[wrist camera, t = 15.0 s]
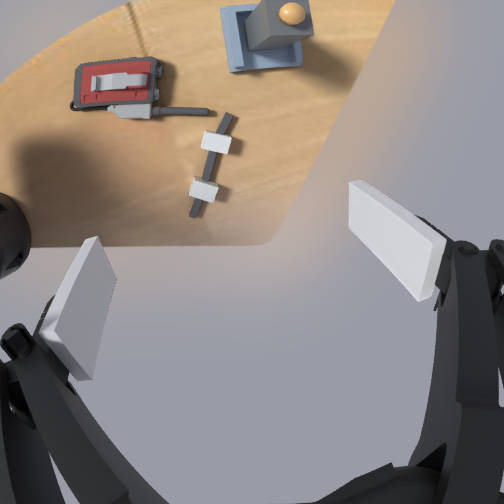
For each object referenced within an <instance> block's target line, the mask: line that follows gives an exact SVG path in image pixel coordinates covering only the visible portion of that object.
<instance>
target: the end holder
mask: <svg viewBox="0 0 504 504" xmlns="http://www.w3.org/2000/svg"><path fill="white" fill-rule="evenodd" d="M257 5H258V4H246V5H234V6H226V8H220V15H221V21H222V27H223V33H224V39H225V46H226V52H227V58H228V64H229V71H230V72H238V71H245V70H254V69H264V68H275V67H290V66H302V64H301V62H302V61H303V54H302V47H301V40H300V41H298V42H295V43H293V44H291V45H288V46H286V47H284V48H282V49H272V50H259V51H249V52H248V48H247V42H246V36H245V30H244V22H245V20H246V19H247V18H248V16H249V15H250V14H251V13H252V11H253V10H254V9H255V8H256V7H257Z"/></svg>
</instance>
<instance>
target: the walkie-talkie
mask: <svg viewBox="0 0 504 504" xmlns="http://www.w3.org/2000/svg"><path fill="white" fill-rule="evenodd" d="M158 65H159V61H158V60H157V59H156V58H154V57H144V58H137V57H132V58H127V59H121V60H120V59H118V60H110V61H108V60H106V61H102V62H101V61H99V62H91V63H84V64H80V65H79V66H78V67H77V68H76V70H75V80H74V97H73V101H72V102H71V104H70V109H71V110H73V111H80V110H89V109H103V110H107V112H113V113H115V114H116V115H117V116H119V117H120V118H122V119H130V118H144V119H150V118H151V116H153V115H160V114H177V115H208V114H209V112H210V111H209V109H207V108H189V107H160V106H152V103H153V102H154V101H156V100H159V89H156V85H157V77H158V79H161V78H162V76H163V64H160V65H159V66H158ZM73 105H75V106H76V107H77V108H74V107H73ZM105 105H110V106H109V107H108V108H107V107H105Z"/></svg>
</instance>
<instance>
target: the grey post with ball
mask: <svg viewBox="0 0 504 504" xmlns="http://www.w3.org/2000/svg"><path fill="white" fill-rule="evenodd" d="M244 30H245V36H246V42H247V48H248V52H249V51H259V50H272V49H282V48H284V47H286V46H288V45H291V44H293V43H295V42H298V41H300V40H303V39H305V38H308V37H310V36H313V35H314V30H313V24H312V18H311V12H310V7H309V1H308V0H262V1H261V2H260V3H259V4H258V5H257V7H256V8H255V9H254V10H253V11H252V13H251V14H250V15H249V16H248V18H247V19H246V20H245V22H244Z"/></svg>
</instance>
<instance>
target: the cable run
mask: <svg viewBox="0 0 504 504" xmlns="http://www.w3.org/2000/svg"><path fill="white" fill-rule="evenodd" d="M232 117H233V115H230V114H228V113H225V115H224V117H223V119H222V121H221V123H220V125H219V127H218V129H217V131H216V132H213V131H208V130H205V133H204V136H203V140H202V144H201V149H205V150H209V153H208V157H207V160H206V164H205V168H204V172H203V176H202V178H199V177H196V176H194V179H193V181H192V184H191V187H190V189H189V196H192V197H195V200H194V203H193V206H192V208H191V211H190V217H193V218H196V217H197V214H198V211H199V209H200V206H201V203H202V201H203V200H204V201H207V202H211V203H213V201H214V199H215V196H216V194H217V191H218V189H219V187H218V184H217V183H214V182H211V181H209V179H210V175H211V172H212V168H213V164H214V161H215V157H216V153H217V152H219V153H223V154H227V153H228V150H229V146H230V143H231V140H232V137H231V136H230V135H225V134H224V133H225V131H226V129H227V127H228V125H229V123H230V121H231V119H232Z"/></svg>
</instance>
